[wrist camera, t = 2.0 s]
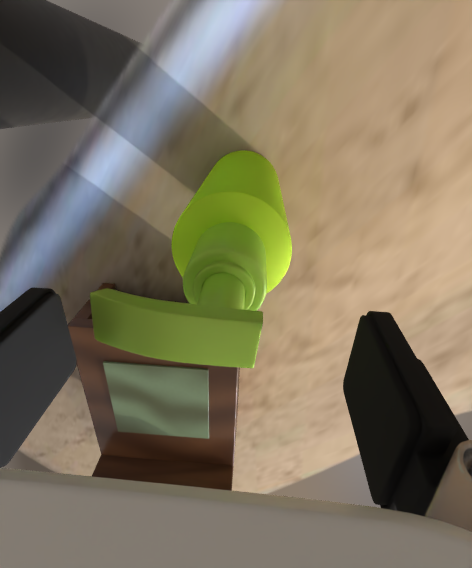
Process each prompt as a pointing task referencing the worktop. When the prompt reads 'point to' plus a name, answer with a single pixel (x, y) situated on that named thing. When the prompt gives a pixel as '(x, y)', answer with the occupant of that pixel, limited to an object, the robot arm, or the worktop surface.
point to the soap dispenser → (210, 273)
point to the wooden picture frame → (157, 413)
